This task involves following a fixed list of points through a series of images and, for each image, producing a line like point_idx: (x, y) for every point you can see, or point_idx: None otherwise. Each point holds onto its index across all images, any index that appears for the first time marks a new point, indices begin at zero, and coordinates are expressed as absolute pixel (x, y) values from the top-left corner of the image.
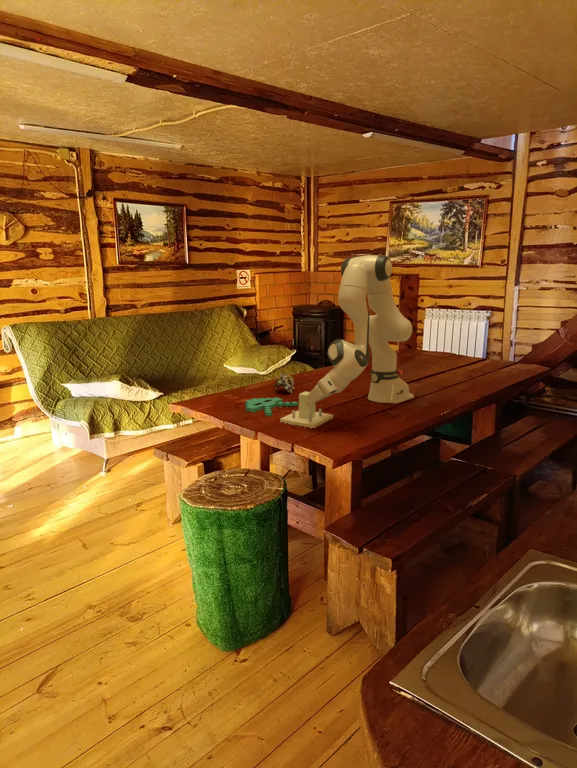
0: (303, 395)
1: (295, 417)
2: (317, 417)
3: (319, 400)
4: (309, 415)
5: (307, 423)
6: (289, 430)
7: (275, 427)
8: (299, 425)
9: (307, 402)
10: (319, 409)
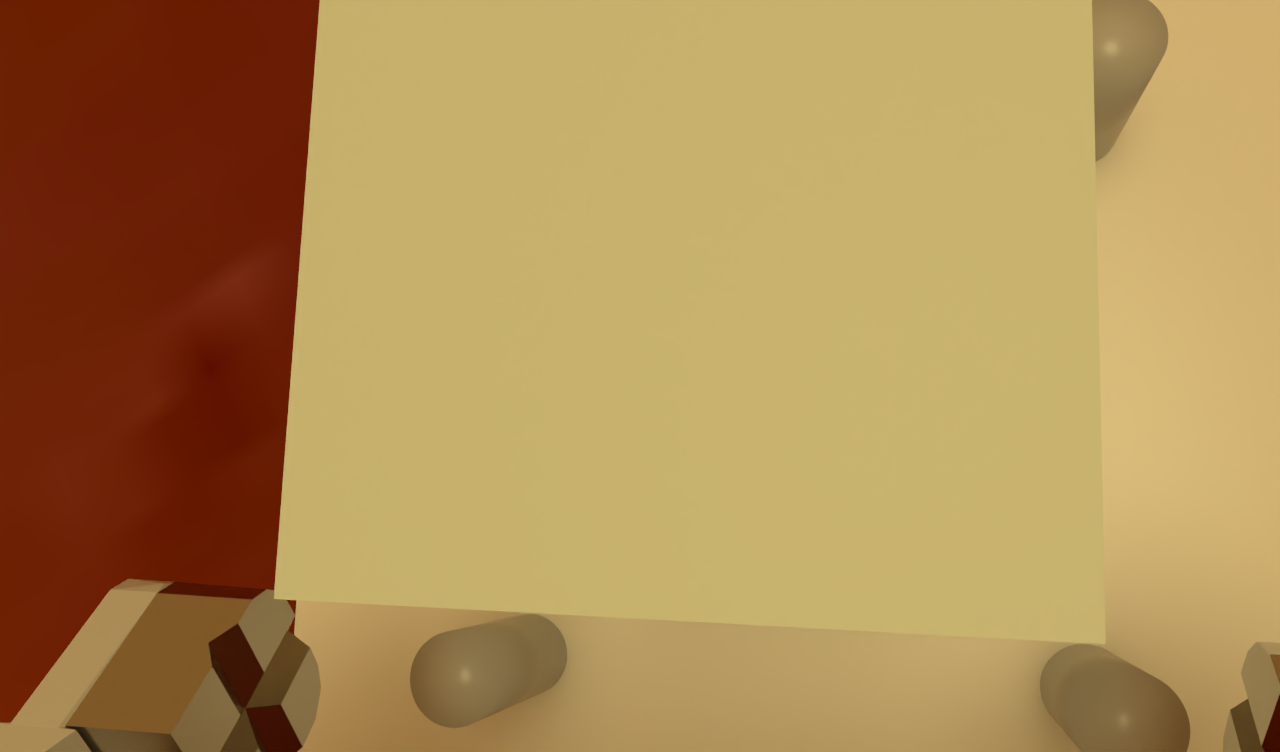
0: (321, 193)
1: None
2: (895, 688)
3: (1231, 747)
4: (427, 662)
5: (322, 682)
6: (40, 434)
7: (81, 99)
8: None
9: (77, 673)
10: (1076, 717)
